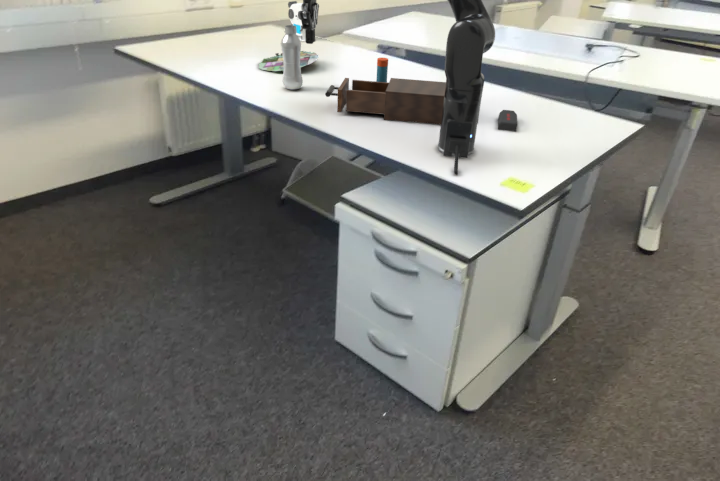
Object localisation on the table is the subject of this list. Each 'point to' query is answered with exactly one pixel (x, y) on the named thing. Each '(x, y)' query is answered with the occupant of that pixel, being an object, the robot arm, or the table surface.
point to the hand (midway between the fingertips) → (310, 42)
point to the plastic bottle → (291, 58)
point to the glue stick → (382, 69)
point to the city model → (277, 61)
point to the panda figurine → (296, 19)
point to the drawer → (360, 96)
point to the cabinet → (414, 101)
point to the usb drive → (507, 120)
